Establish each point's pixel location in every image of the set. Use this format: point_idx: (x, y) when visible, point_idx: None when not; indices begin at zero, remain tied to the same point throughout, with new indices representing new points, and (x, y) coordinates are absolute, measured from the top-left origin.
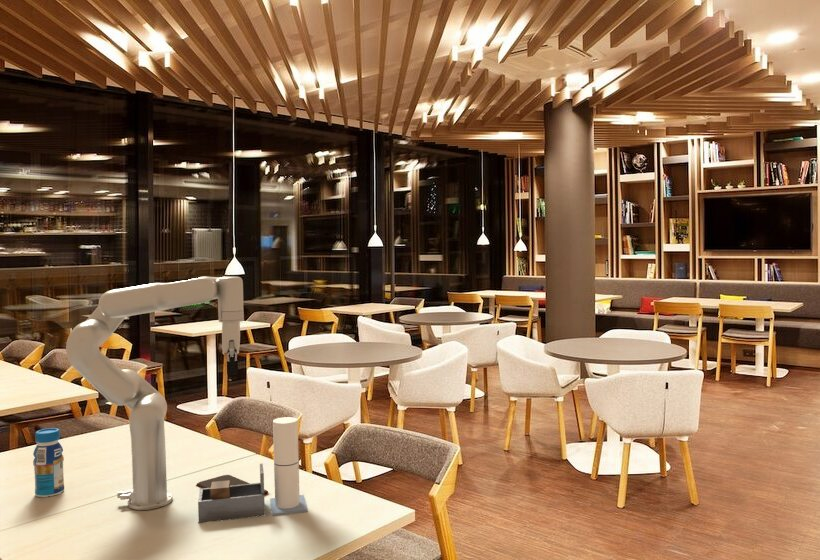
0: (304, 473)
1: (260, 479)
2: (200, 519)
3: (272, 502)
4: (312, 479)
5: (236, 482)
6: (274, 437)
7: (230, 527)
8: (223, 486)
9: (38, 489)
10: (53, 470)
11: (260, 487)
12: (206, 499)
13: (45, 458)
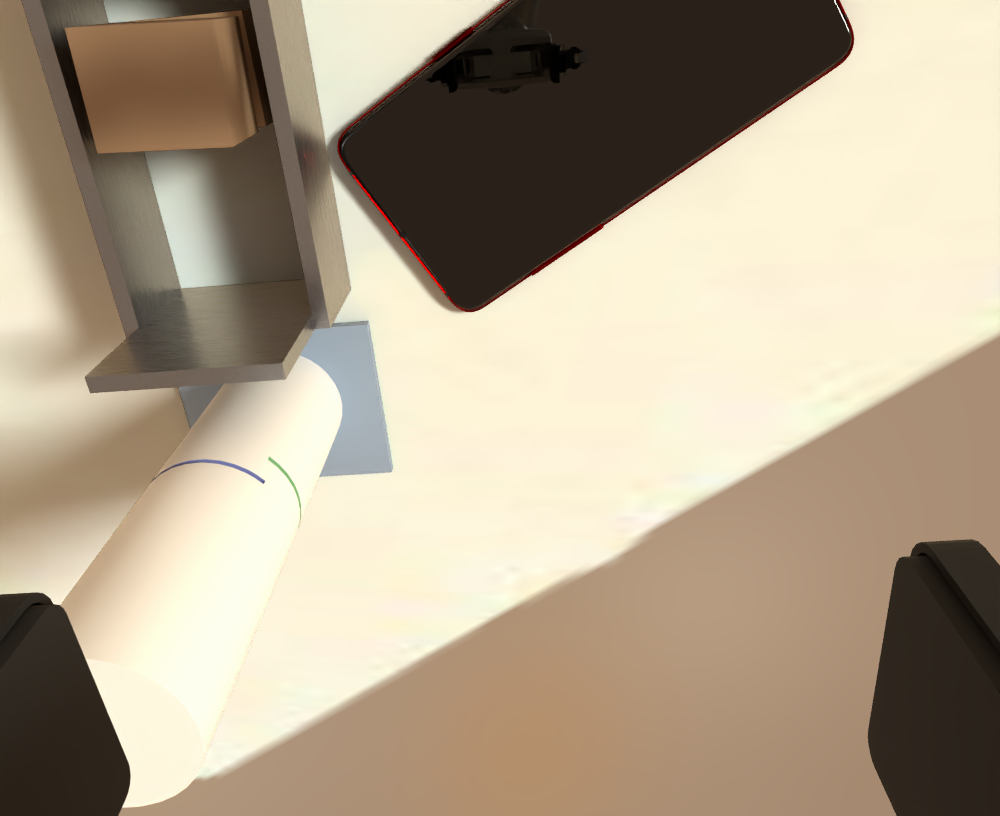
0: (730, 478)
1: (232, 337)
2: None
3: (310, 337)
4: (625, 509)
5: (664, 122)
6: (90, 578)
7: (25, 143)
8: (116, 116)
9: None
10: None
11: (295, 310)
12: None
13: None
